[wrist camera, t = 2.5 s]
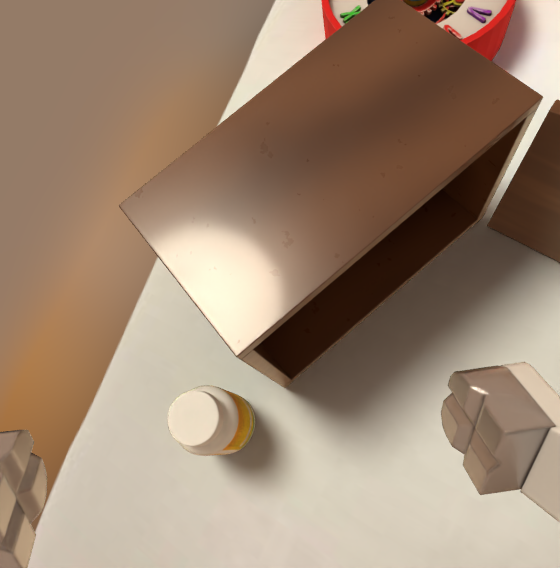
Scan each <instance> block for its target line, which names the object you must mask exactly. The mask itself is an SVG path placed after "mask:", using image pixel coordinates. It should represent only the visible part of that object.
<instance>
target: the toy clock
mask: <svg viewBox="0 0 560 568" xmlns="http://www.w3.org/2000/svg"><path fill="white" fill-rule="evenodd" d="M373 1H375V0H322V9H323V19H324V29H325V38H326V39H327V38H328V37H330V36H331V35H332V34H333V33H335V32H336V31H337V30H338V29H340V28H341V27H342V26H343V25H345V24H346V23H347V22H348V21H350V20H351V19H352V18H353V17H355V16H356V15H357V14H358V13H360V12H361V11H362V10H363V9H365V8H366V7H367V6H368V5H370V4H371V3H372V2H373ZM401 1H403V2H404V3H406V4H407V5H409V6H410V7H412V8H413V9H415V10H416V11H418V12H419V13H421V14H422V15H424V16H425V17H427V18H428V19H429V20H431V21H432V22H434V23H435V24H437V25H438V26H440V27H441V28H443V29H444V30H446V31H447V32H449V33H450V34H452V35H453V36H455V37H456V38H457V39H459V40H460V41H462V42H463V43H465V44H466V45H468V46H469V47H471V48H472V49H474V50H475V51H477V52H478V53H480V54H481V55H483V56H484V57H485V58H487V59H488V60H490V61H492V59H493V58H494V57H495V55H496V54H497V52H498V51H499V49H500V46H501V44H502V41H503V39H504V36H505V33H506V30H507V27H508V24H509V21H510V18H511V15H512V12H513V9H514V6H515V3H516V0H401Z"/></svg>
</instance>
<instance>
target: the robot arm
mask: <svg viewBox="0 0 560 568" xmlns="http://www.w3.org/2000/svg"><path fill="white" fill-rule="evenodd" d="M448 387H449V388H450V390H451V391H452V393H451V394H450V395H449V396H448V397H447V398H446V399H445V400H444V401H443V406H442V410H441V417H442V425H443V428H444V431H445V434H446V436H447V438H448V440H449V442H450V444H451V445H452V447H454V448H455V449H457V450H458V451H460V452H461V453H463V454H464V461H463V466H464V468H465V470H466V472H467V473H468V475H469V477H470V478H471V480H472V482H473V484H474V485H475V487H476V489H477V491H478V492H479V494H480V495H484V494H491V493H498V492H505V491H511V490H518V489H521V492H522V493H523V494H524V495H526V496H527V497H528V498H529V499H531V500H532V501H533V502H534V503H536V504H537V505H538V506H540V507H541V508H542V509H543V510H545V511H546V512H547V513H548V514H550V515H551V516H552V517H554V518H555V519H556V520H557V521H559V522H560V397H559V396H558V394H557V393H556V392H555V391H554V390H553V389H552V388H551V387H550V386H549V384H548V383H547V382H546V381H545V380H544V379H543V378H542V377H541V376H540V374H539V373H538V372H537V371H536V370H535V369H534V368H533V367H532V366H531V365H529V364H527V363H526V362H521V363H514V364H506V365H501V366H491V367H484V368H477V369H470V370H463V371H456V372H454V373H453V374H452V375H451V376H450V380H449V383H448ZM33 444H34V441H33V439H32V437H31V436H30V433H29V431H28V430H15V431H6V432H0V568H27V567H28V564H29V560H30V556H31V552H32V549H33V545H34V541H35V537H36V534H35V532H34V530H33V528H32V526H31V522H32V521H33V520H34V519H35V518H36V517H37V516H38V514H40V513H41V512H42V510H43V506H44V502H45V498H46V489H47V476H46V470H45V466H44V463H43V461H42V459H41V458H40V457H39V456H37V455H35V454H33V453H31V450H32V447H33Z"/></svg>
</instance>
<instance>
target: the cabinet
mask: <svg viewBox="0 0 560 568" xmlns="http://www.w3.org/2000/svg"><path fill="white" fill-rule="evenodd" d="M542 98H543V96H541V95H540V94H538V93H537V92H536V91H534V90H533V89H531V88H530V87H528V86H527V85H525V84H524V83H522V82H521V81H519V80H518V79H516V78H515V77H513V76H512V75H510V74H509V73H508V72H506V71H505V70H503V69H502V68H500V67H499V66H497V65H496V64H494V63H493V62H491V61H490V60H488V59H487V58H485V57H484V56H483V55H481V54H480V53H478V52H477V51H475V50H474V49H472V48H471V47H469V46H468V45H466V44H465V43H463V42H462V41H460V40H459V39H457V38H456V37H455V36H453V35H452V34H450V33H449V32H447V31H446V30H444V29H443V28H441V27H440V26H438V25H437V24H435V23H434V22H432V21H431V20H429V19H428V18H427V17H425V16H424V15H422V14H421V13H419V12H418V11H416V10H415V9H413V8H412V7H410V6H409V5H407V4H406V3H404V2H403V1H401V0H375V1H373V2H372V3H371V4H370V5H368V6H367V7H366V8H365V9H363V10H362V11H361V12H360V13H358V14H357V15H356V16H355V17H353V18H352V19H351V20H350V21H348V22H347V23H346V24H345V25H343V26H342V27H341V28H340V29H338V30H337V31H336V32H335V33H333V34H332V35H331V36H330V37H328V38H327V39H326V40H325V41H323V42H322V43H321V44H320V45H318V46H317V47H316V48H315V49H313V50H312V51H311V52H310V53H308V54H307V55H306V56H305V57H303V58H302V59H301V60H300V61H298V62H297V63H296V64H295V65H293V66H292V67H291V68H290V69H288V70H287V71H286V72H285V73H283V74H282V75H281V76H280V77H278V78H277V79H276V80H275V81H273V82H272V83H271V84H270V85H268V86H267V87H266V88H265V89H263V90H262V91H261V92H260V93H258V94H257V95H256V96H255V97H253V98H252V99H251V100H250V101H248V102H247V103H246V104H245V105H243V106H242V107H241V108H240V109H238V110H237V111H236V112H235V113H233V114H232V115H231V116H230V117H228V118H227V119H226V120H225V121H223V122H222V123H221V124H220V125H218V126H217V127H216V128H215V129H213V130H212V131H211V132H210V133H208V134H207V135H206V136H205V137H203V138H202V139H201V140H200V141H198V142H197V143H196V144H195V145H193V146H192V147H191V148H190V149H188V150H187V151H186V152H185V153H183V154H182V155H181V156H180V157H178V158H177V159H176V160H175V161H173V162H172V163H171V164H170V165H168V166H167V167H166V168H165V169H163V170H162V171H161V172H160V173H158V174H157V175H156V176H155V177H153V178H152V179H151V180H150V181H148V182H147V183H146V184H145V185H143V186H142V187H141V188H140V189H138V190H137V191H136V192H135V193H133V194H132V195H131V196H130V197H128V198H127V199H126V200H125V201H123V202H122V203H121V204H120V205H119V207H120V208H121V210H122V211H123V212H124V213H125V215H126V216H127V217H128V218H129V220H130V221H131V222H132V224H133V225H134V226H135V228H136V229H137V230H138V231H139V232H140V234H141V235H142V237H143V238H144V239H145V240H146V242H147V243H148V244H149V246H150V247H151V248H152V249H153V251H154V252H155V253H156V255H157V256H158V257H159V258H160V260H161V261H162V262H163V264H164V265H165V266H166V267H167V269H168V270H169V271H170V272H171V274H172V275H173V276H174V278H175V279H176V280H177V281H178V283H179V284H180V285H181V287H182V288H183V289H184V290H185V292H186V293H187V294H188V296H189V297H190V298H191V299H192V301H193V302H194V303H195V305H196V306H197V307H198V308H199V310H200V311H201V312H202V314H203V315H204V316H205V317H206V319H207V320H208V321H209V322H210V324H211V325H212V326H213V328H214V329H215V330H216V331H217V333H218V334H219V335H220V337H221V338H222V339H223V340H224V342H225V343H226V344H227V346H228V347H229V348H230V349H231V351H232V352H233V353H234V355H235V356H236V357H237V358H239V359H241V360H242V361H244V362H245V363H247V364H248V365H250V366H252V367H253V368H255V369H256V370H258V371H259V372H261V373H262V374H264V375H266V376H267V377H269V378H270V379H272V380H273V381H275V382H276V383H278V384H280V385H281V386H283V387H284V388H286V387H287V386H288V385H289V384H291V383H292V382H293V381H294V380H295V379H296V378H298V377H299V376H300V375H301V374H302V373H303V372H304V371H306V370H307V369H308V368H309V367H310V366H311V365H313V364H314V363H315V362H316V361H317V360H318V359H320V358H321V357H322V356H323V355H324V354H325V353H326V352H328V351H329V350H330V349H331V348H332V347H333V346H335V345H336V344H337V343H338V342H339V341H340V340H342V339H343V338H344V337H345V336H346V335H347V334H349V333H350V332H351V331H352V330H353V329H354V328H355V327H357V326H358V325H359V324H360V323H361V322H362V321H364V320H365V319H366V318H367V317H368V316H369V315H371V314H372V313H373V312H374V311H375V310H376V309H377V308H379V307H380V306H381V305H382V304H383V303H384V302H386V301H387V300H388V299H389V298H390V297H391V296H393V295H394V294H395V293H396V292H397V291H398V290H399V289H401V288H402V287H403V286H404V285H405V284H406V283H408V282H409V281H410V280H411V279H412V278H413V277H415V276H416V275H417V274H418V273H419V272H420V271H422V270H423V269H424V268H425V267H426V266H427V265H428V264H430V263H431V262H432V261H433V260H434V259H435V258H437V257H438V256H439V255H440V254H441V253H442V252H444V251H445V250H446V249H447V248H448V247H449V246H450V245H452V244H453V243H454V242H455V241H456V240H457V239H459V238H460V237H461V236H462V235H463V234H464V233H466V232H467V231H468V230H469V229H470V228H471V227H472V226H474V225H475V224H476V223H477V222H478V221H479V220H481V219H482V218H483V216H484V214H485V212H486V210H487V208H488V206H489V204H490V202H491V200H492V198H493V196H494V194H495V192H496V190H497V188H498V186H499V184H500V182H501V180H502V178H503V176H504V174H505V172H506V170H507V168H508V166H509V164H510V162H511V160H512V158H513V156H514V154H515V152H516V150H517V148H518V146H519V144H520V142H521V140H522V138H523V136H524V134H525V132H526V130H527V128H528V126H529V124H530V122H531V120H532V118H533V116H534V114H535V112H536V110H537V108H538V106H539V104H540V102H541V100H542Z"/></svg>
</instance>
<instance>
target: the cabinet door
mask: <svg viewBox="0 0 560 568" xmlns="http://www.w3.org/2000/svg"><path fill="white" fill-rule="evenodd" d="M487 226H488V227H490V228H492V229H494V230H496V231H498V232H500V233H502V234H504V235H506V236H508V237H510V238H512V239H514V240H516V241H518V242H520V243H522V244H524V245H526V246H528V247H530V248H532V249H534V250H536V251H538V252H540V253H542V254H544V255H546V256H548V257H550V258H552V259H554V260H556V261H558V262H560V101H559V100H556V101H555V103H554V104H553V106H552V107H551V109H550V110H549V112H548V114H547V116H546V117H545V119H544V121H543V123H542V125H541V127H540V129H539V130H538V132H537V134H536V136H535V138H534V140H533V142H532V143H531V145H530V147H529V149H528V151H527V153H526V154H525V156H524V158H523V160H522V162H521V164H520V166H519V167H518V169H517V171H516V173H515V175H514V177H513V179H512V180H511V182H510V184H509V186H508V188H507V190H506V191H505V193H504V195H503V197H502V199H501V201H500V203H499V204H498V206H497V208H496V210H495V212H494V214H493V216H492V217H491V219H490V221H489V223H488V225H487Z"/></svg>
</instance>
